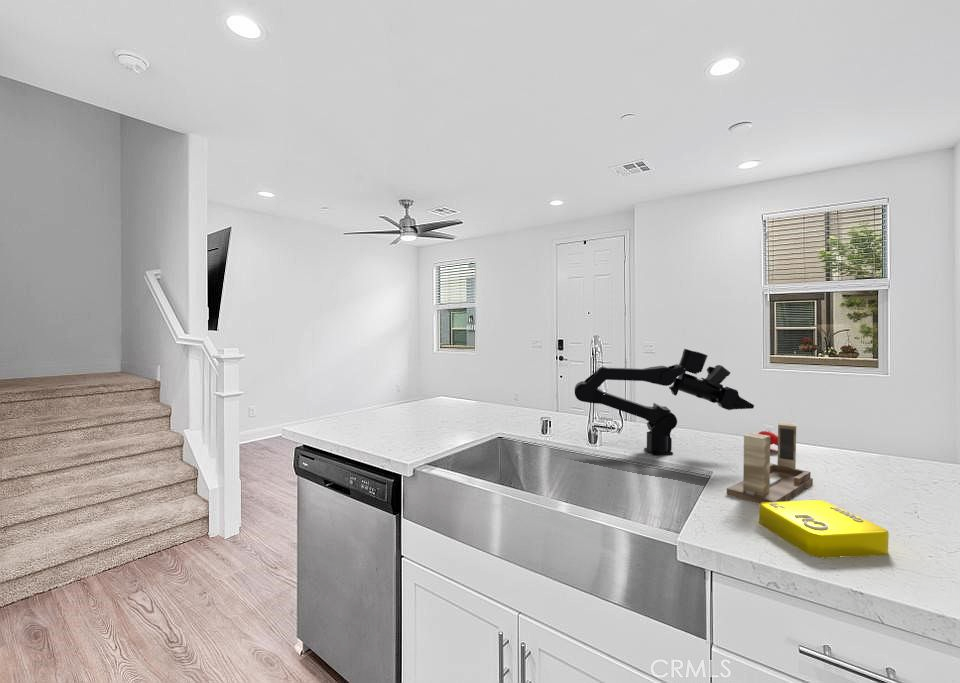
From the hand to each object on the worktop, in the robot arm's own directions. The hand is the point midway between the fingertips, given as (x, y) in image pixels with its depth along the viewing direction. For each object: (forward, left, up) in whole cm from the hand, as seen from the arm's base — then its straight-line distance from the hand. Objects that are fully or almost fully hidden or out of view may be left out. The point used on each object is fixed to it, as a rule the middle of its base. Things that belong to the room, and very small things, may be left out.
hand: (747, 404), depth 136 cm
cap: (+12, +5, -16) cm, 21 cm away
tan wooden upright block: (+1, -14, -16) cm, 21 cm away
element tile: (-23, -49, -17) cm, 57 cm away
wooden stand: (-14, -26, -16) cm, 33 cm away
